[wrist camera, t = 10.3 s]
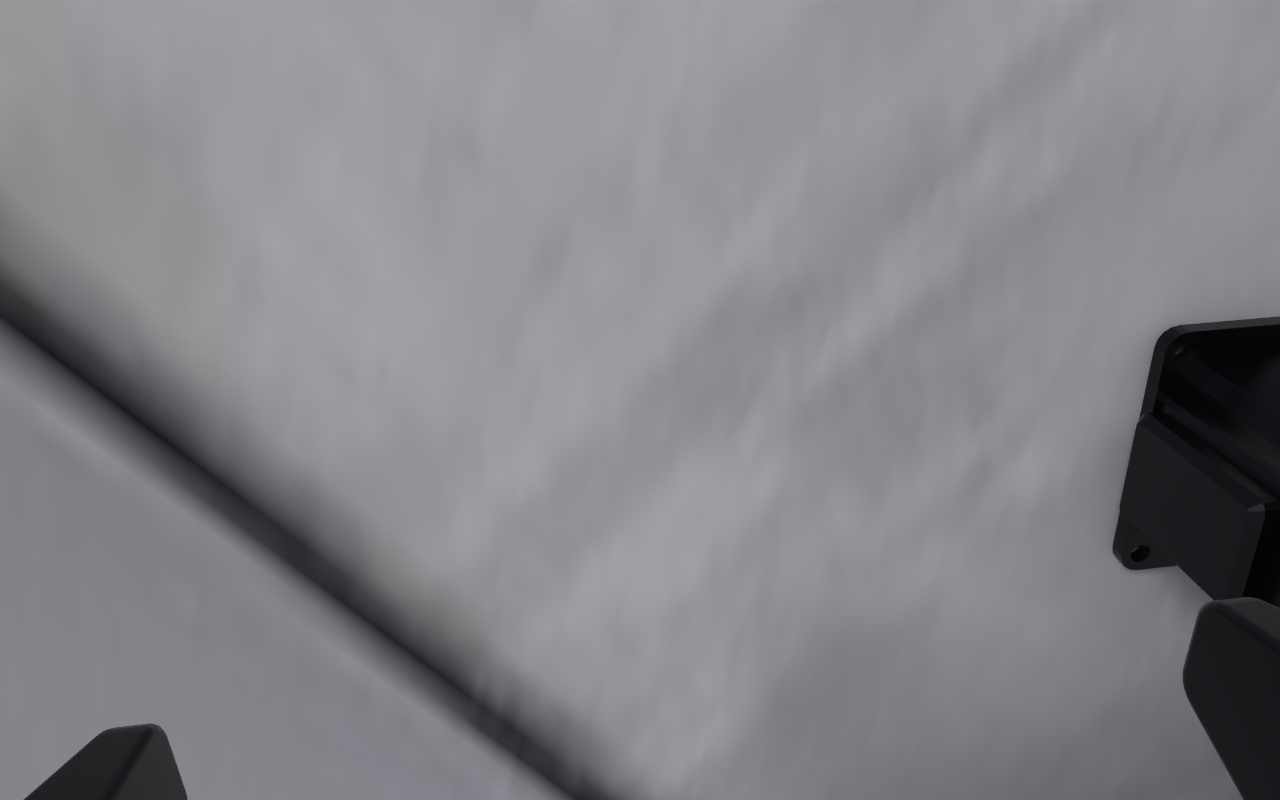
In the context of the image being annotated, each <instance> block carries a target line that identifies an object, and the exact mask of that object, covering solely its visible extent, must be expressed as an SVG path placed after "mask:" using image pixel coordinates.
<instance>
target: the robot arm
mask: <svg viewBox="0 0 1280 800" xmlns="http://www.w3.org/2000/svg"><path fill="white" fill-rule="evenodd" d="M1183 343H1186V345H1185V347H1184V349H1183V350H1182V351H1181V352H1180V353H1179V354H1177V355H1175V352H1176V350H1177V348H1178V347H1179V346H1180V345H1182V344H1183ZM1137 546H1139V548H1138V549H1137V550H1135V551H1134V552H1132V551H1133V550H1134V549H1135V548H1136V547H1137ZM1113 554H1114V555H1115V557H1116V558H1117V559H1118V560H1119V561H1120V562H1121V563H1122V564H1123V565H1124V567H1126V568H1128V569H1131V570H1140V569H1149V568H1158V567H1167V566H1176V565H1178V566H1179V567H1180V568H1181V569H1182V570H1183V571H1184V572H1185V573H1186V574H1187V575H1188V576H1189V577H1190V578H1191V579H1192V580H1193V581H1194V582H1195V583H1196V584H1197V585H1198V586H1200V587H1201V588H1202V589H1203V590H1204V591H1205V592H1206V593H1207V594H1208V595H1209V596H1210V597H1211V598H1212V599H1213V600H1214V601H1210V602H1208V603H1206V604H1205V605H1204V606H1203V607H1202V608H1201V609H1200V611H1199V613H1198V616H1197V619H1196V623H1195V627H1194V630H1193V634H1192V638H1191V642H1190V645H1189V649H1188V653H1187V657H1186V660H1185V664H1184V668H1183V684H1184V689H1185V692H1186V695H1187V698H1188V700H1189V702H1190V704H1191V706H1192V708H1193V709H1194V711H1195V713H1196V715H1197V717H1198V718H1199V720H1200V722H1201V724H1202V726H1203V727H1204V729H1205V731H1206V733H1207V735H1208V736H1209V738H1210V740H1211V742H1212V744H1213V746H1214V747H1215V749H1216V751H1217V753H1218V755H1219V756H1220V758H1221V760H1222V762H1223V764H1224V765H1225V767H1226V769H1227V771H1228V773H1229V774H1230V776H1231V778H1232V780H1233V782H1234V783H1235V785H1236V787H1237V789H1238V791H1239V792H1240V794H1241V796H1242V798H1243V800H1280V317H1270V318H1258V319H1247V320H1235V321H1223V322H1212V323H1200V324H1189V325H1179V326H1175V327H1171V328H1170V329H1168V330H1167V331H1165V332H1164V333H1163V334H1162V335H1161V336H1160V337H1159V339H1158V340H1157V343H1156V345H1155V348H1154V352H1153V357H1152V362H1151V367H1150V371H1149V376H1148V381H1147V386H1146V391H1145V395H1144V400H1143V405H1142V410H1141V414H1140V419H1139V422H1138V423H1137V426H1136V431H1135V436H1134V441H1133V445H1132V450H1131V455H1130V460H1129V465H1128V469H1127V474H1126V479H1125V484H1124V488H1123V493H1122V498H1121V503H1120V514H1119V519H1118V524H1117V529H1116V533H1115V538H1114V543H1113ZM24 800H187V795H186V791H185V788H184V785H183V782H182V779H181V776H180V773H179V770H178V767H177V764H176V761H175V758H174V755H173V753H172V750H171V747H170V744H169V741H168V738H167V736H166V734H165V732H164V730H163V729H162V728H161V727H160V726H158V725H155V724H143V725H134V726H125V727H117V728H111V729H108V730H105V731H103V732H102V733H100V734H99V735H98V736H96V737H95V738H94V739H93V740H91V741H90V742H89V743H88V744H87V745H86V746H85V747H83V748H82V749H81V750H80V751H79V752H78V753H77V754H75V755H74V756H73V757H72V758H71V759H70V760H69V761H67V762H66V763H65V764H64V765H63V766H62V767H61V768H59V769H58V770H57V771H56V772H55V773H54V774H53V775H51V776H50V777H49V778H48V779H47V780H46V781H45V782H43V783H42V784H41V785H40V786H39V787H38V788H37V789H35V790H34V791H33V792H32V793H31V794H30V795H29V796H27V797H26V798H25V799H24Z"/></svg>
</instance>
